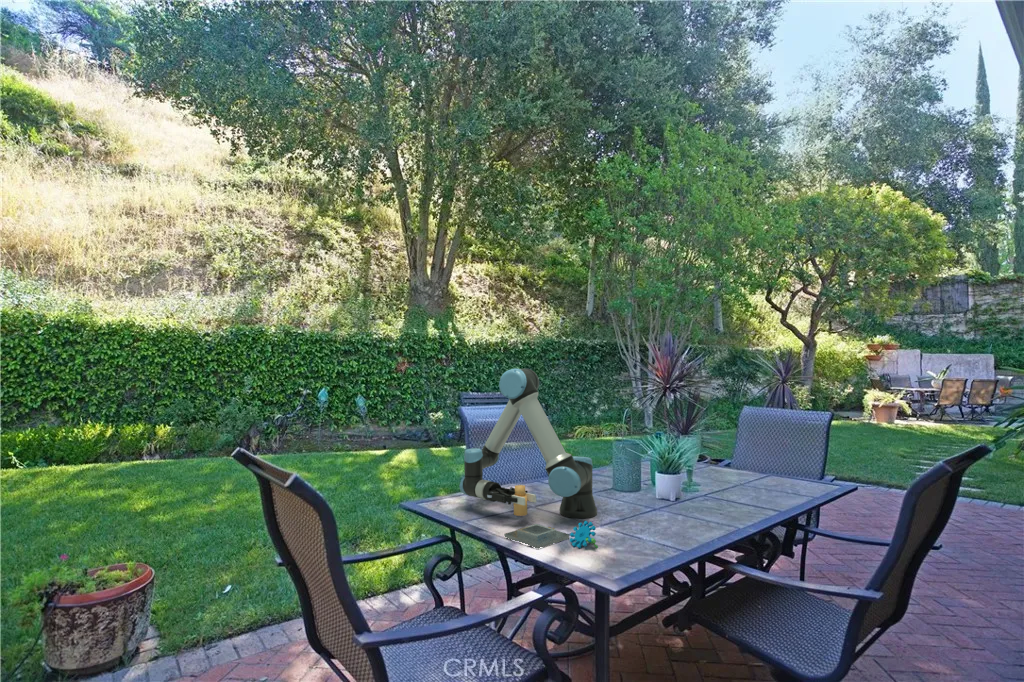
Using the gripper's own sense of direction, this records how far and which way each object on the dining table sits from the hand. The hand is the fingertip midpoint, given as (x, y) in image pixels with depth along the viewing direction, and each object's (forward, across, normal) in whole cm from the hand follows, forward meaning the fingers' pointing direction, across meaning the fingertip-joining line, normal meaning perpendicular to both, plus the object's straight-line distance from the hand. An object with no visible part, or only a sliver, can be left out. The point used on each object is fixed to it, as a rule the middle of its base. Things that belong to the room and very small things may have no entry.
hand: (530, 500), depth 201 cm
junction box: (+10, +7, -10) cm, 16 cm away
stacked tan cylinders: (-5, 0, -6) cm, 8 cm away
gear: (+26, +1, -11) cm, 28 cm away
